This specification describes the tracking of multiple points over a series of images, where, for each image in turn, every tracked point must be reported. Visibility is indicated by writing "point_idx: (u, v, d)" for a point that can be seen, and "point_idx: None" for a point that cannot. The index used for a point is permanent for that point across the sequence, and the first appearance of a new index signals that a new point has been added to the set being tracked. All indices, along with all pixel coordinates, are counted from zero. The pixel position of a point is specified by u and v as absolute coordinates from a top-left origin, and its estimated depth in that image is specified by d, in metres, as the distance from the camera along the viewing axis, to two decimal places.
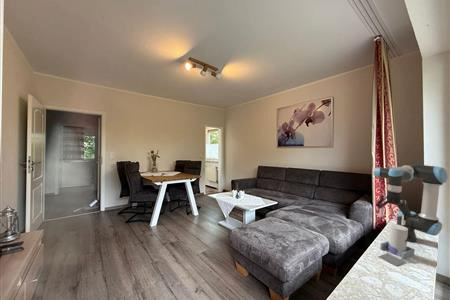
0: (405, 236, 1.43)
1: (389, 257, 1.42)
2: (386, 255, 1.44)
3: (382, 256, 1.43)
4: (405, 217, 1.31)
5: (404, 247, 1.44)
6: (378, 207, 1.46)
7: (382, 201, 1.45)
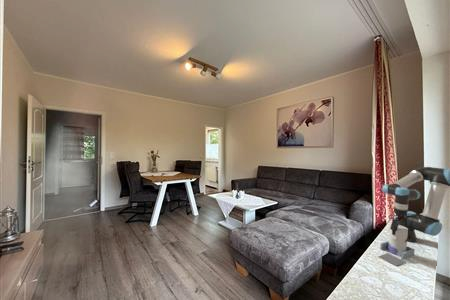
0: (405, 236, 1.43)
1: (389, 257, 1.42)
2: (386, 255, 1.44)
3: (382, 256, 1.43)
4: None
5: (404, 247, 1.44)
6: None
7: (406, 221, 1.49)
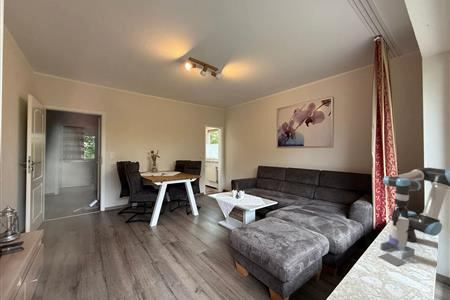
0: (406, 227, 1.43)
1: (389, 257, 1.42)
2: (386, 255, 1.44)
3: (382, 256, 1.43)
4: None
5: (405, 238, 1.44)
6: None
7: (406, 212, 1.49)
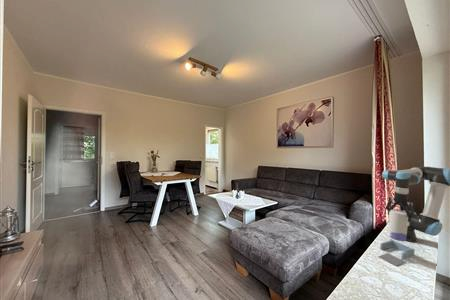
0: None
1: (389, 257, 1.42)
2: (386, 255, 1.44)
3: (382, 256, 1.43)
4: (409, 218, 1.39)
5: None
6: None
7: (390, 204, 1.51)
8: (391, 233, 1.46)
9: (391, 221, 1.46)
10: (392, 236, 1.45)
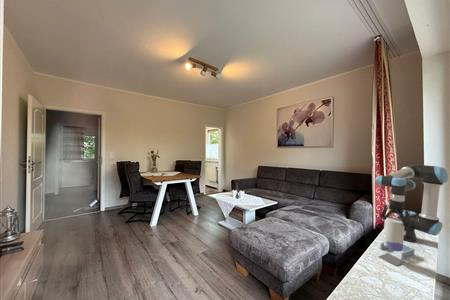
0: None
1: (389, 257, 1.42)
2: (386, 255, 1.44)
3: (382, 256, 1.43)
4: (405, 227, 1.32)
5: None
6: (383, 218, 1.44)
7: (386, 211, 1.44)
8: (386, 243, 1.39)
9: (387, 230, 1.39)
10: (388, 246, 1.38)
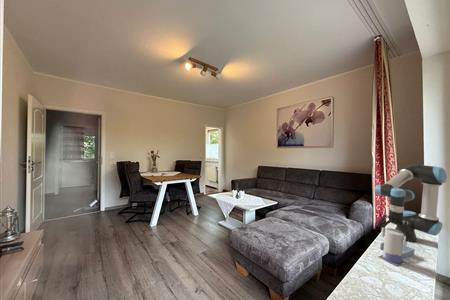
0: None
1: None
2: None
3: (382, 256, 1.43)
4: (407, 238, 1.31)
5: None
6: None
7: (384, 220, 1.45)
8: (385, 254, 1.40)
9: (386, 241, 1.40)
10: (387, 257, 1.39)
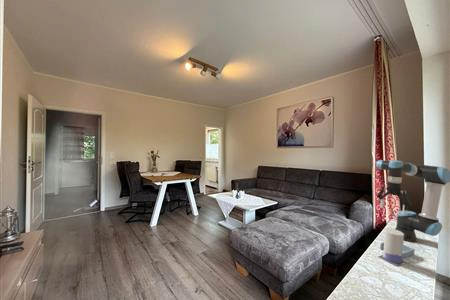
0: None
1: None
2: None
3: (382, 256, 1.43)
4: (406, 207, 1.36)
5: None
6: (379, 198, 1.51)
7: None
8: (385, 254, 1.39)
9: (386, 241, 1.40)
10: (387, 257, 1.39)
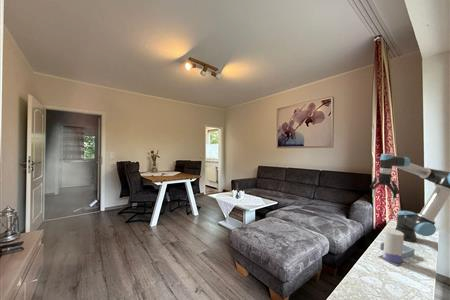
0: None
1: None
2: None
3: (382, 256, 1.43)
4: (394, 195, 1.51)
5: None
6: None
7: None
8: (385, 254, 1.40)
9: (386, 241, 1.40)
10: (387, 257, 1.39)
